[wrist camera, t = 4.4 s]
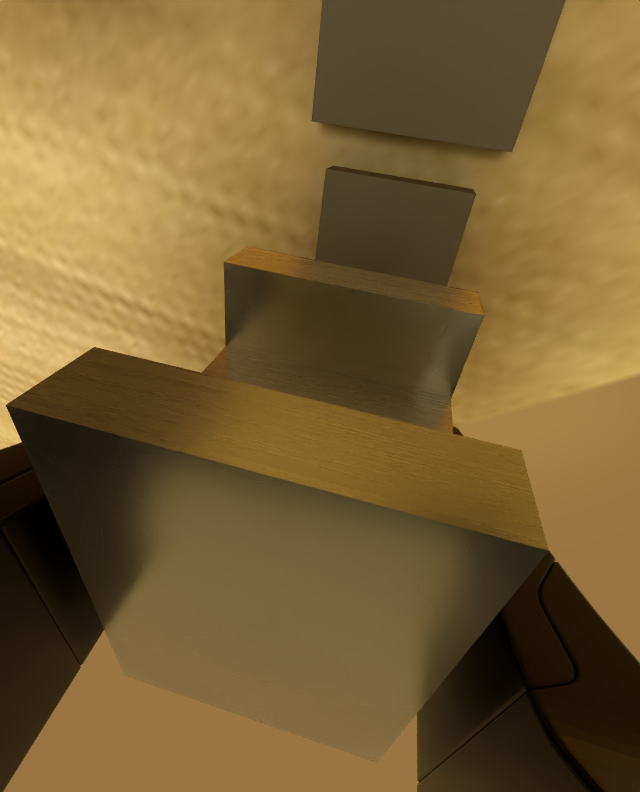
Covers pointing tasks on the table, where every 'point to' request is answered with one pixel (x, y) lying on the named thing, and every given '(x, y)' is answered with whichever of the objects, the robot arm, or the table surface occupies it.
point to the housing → (291, 501)
